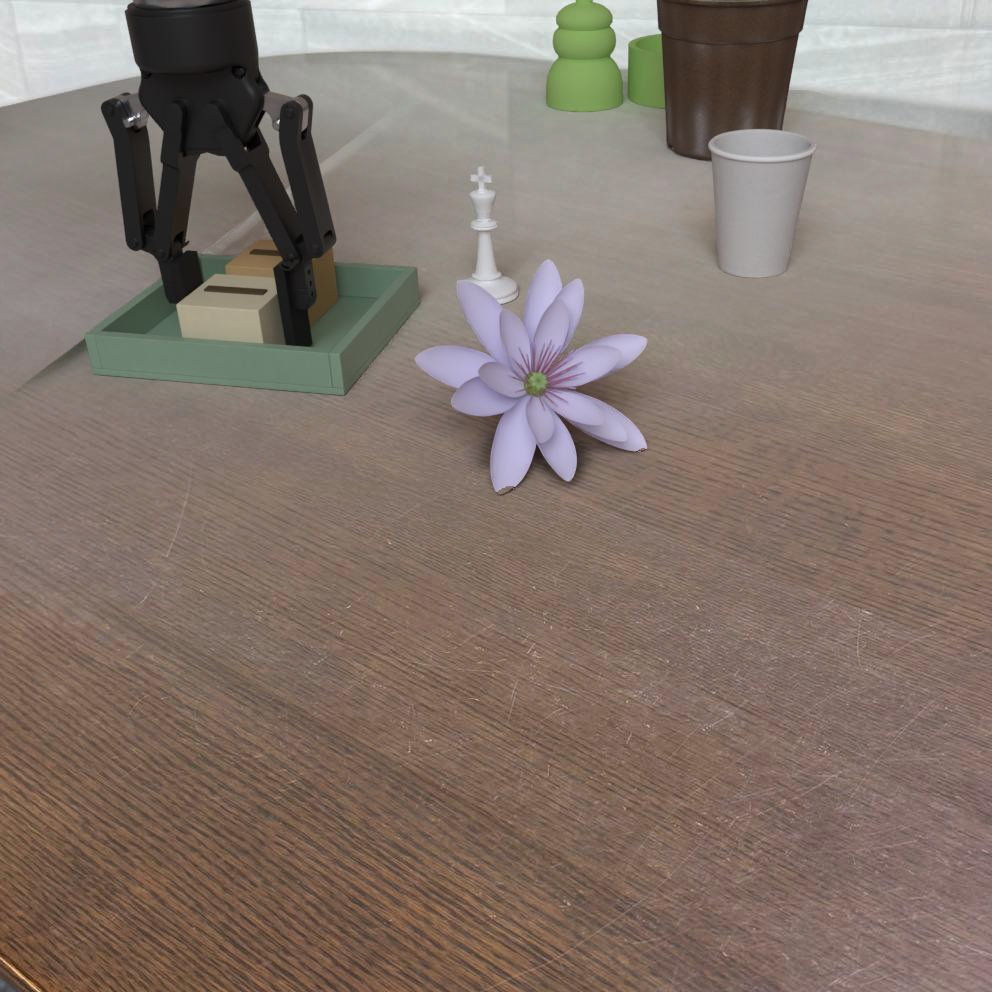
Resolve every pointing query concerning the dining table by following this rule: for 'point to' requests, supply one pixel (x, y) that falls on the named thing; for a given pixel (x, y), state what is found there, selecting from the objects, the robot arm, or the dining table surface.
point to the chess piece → (488, 243)
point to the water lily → (534, 376)
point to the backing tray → (316, 369)
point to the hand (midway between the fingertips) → (250, 347)
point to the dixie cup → (758, 198)
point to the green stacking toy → (600, 63)
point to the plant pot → (725, 67)
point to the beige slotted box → (233, 310)
